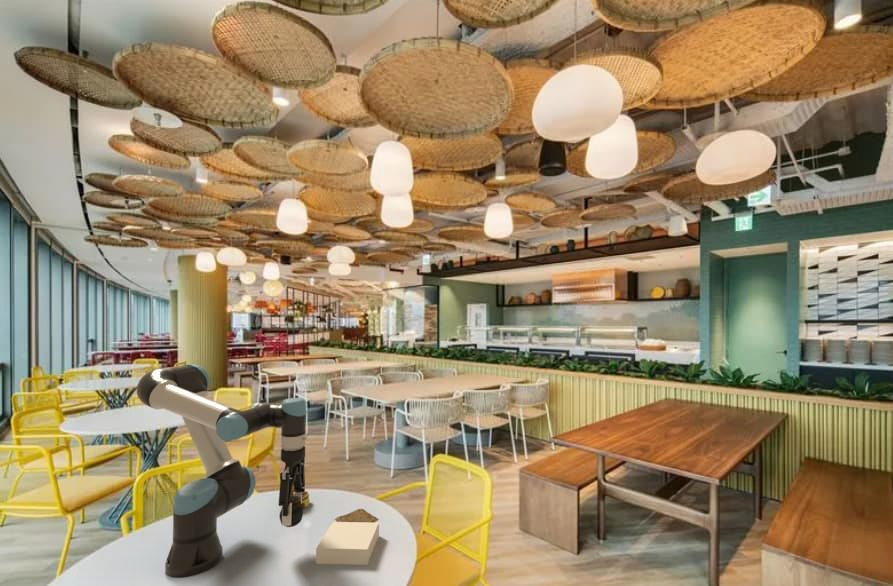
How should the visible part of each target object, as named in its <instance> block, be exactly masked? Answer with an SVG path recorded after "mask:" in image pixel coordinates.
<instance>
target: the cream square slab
mask: <svg viewBox="0 0 893 586" xmlns="http://www.w3.org/2000/svg"><path fill="white" fill-rule="evenodd" d="M379 538H380V522H337V521H332V523H331V524H330V526H329V528H328V529H327V531H326V533H325V534H324V535H323V537H322V538H321V540H320V542H318V545H317V547H316V548H315V550H316V551H315V552H316V553H315V564H318V565H319V564H320V565H321V564H322V565H323V564H324V565H358V566H359V565H361V566H365V565H366V566H367V565H369V562H370V560H371V556H372V555H373V552H374V550H375V547H376V544H377V543H378V542H377V541H378V539H379Z"/></svg>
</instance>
